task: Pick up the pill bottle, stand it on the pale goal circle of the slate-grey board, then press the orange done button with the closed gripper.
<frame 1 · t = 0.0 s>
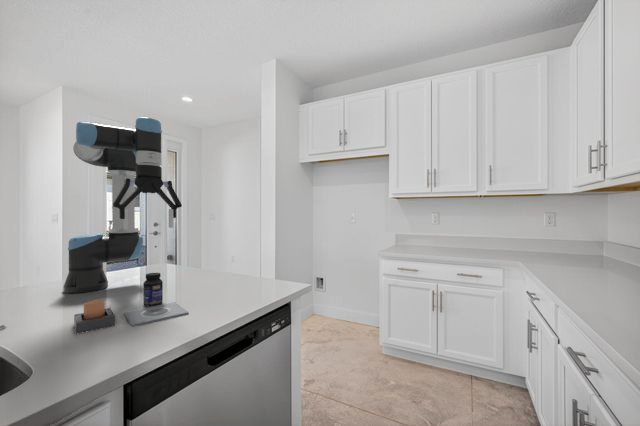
hand: (149, 228, 101), 28 cm above the counter, fingers open, 13 cm apart
button housing: (94, 325, 89), on the counter
board: (155, 314, 98), on the counter
button: (94, 310, 89), point 4 cm above the counter, slide at 0.0 cm
pill bottle: (153, 304, 108), on the counter
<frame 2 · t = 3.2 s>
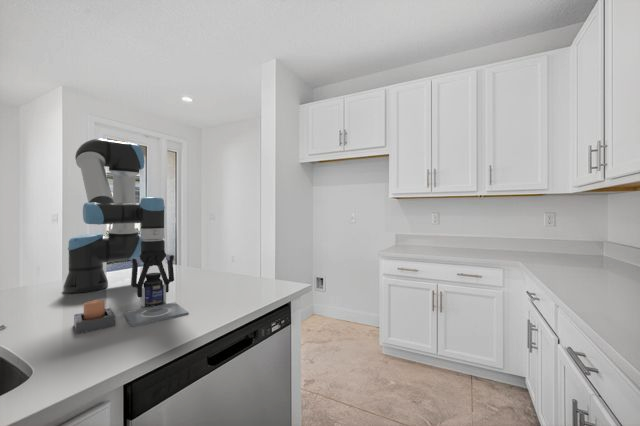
hand: (153, 303, 108), 0 cm above the counter, fingers closed on pill bottle, 6 cm apart
pill bottle: (153, 304, 108), on the counter, touching gripper
everything else where it was.
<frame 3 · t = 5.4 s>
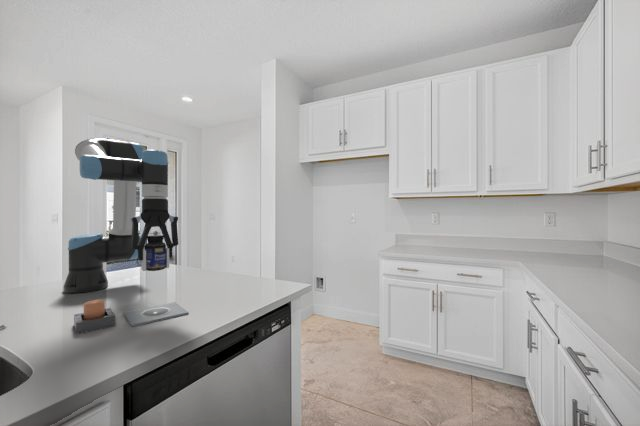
hand: (155, 268, 98), 15 cm above the counter, fingers closed on pill bottle, 6 cm apart
pill bottle: (155, 269, 98), point 15 cm above the counter, touching gripper
everything else where it was.
when the fingers open (2 cm above the counter, at t = 7.9 s): pill bottle drops 1 cm, resting on board.
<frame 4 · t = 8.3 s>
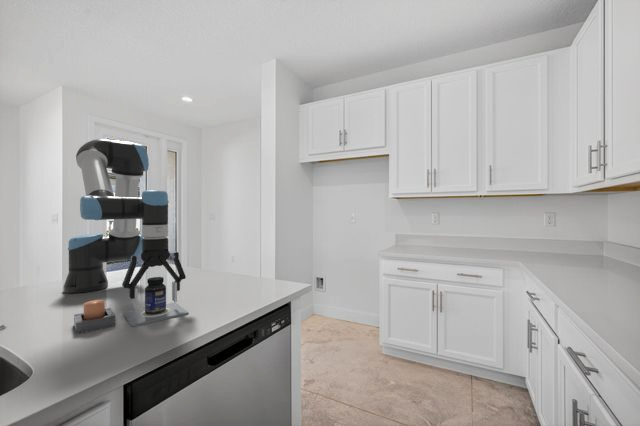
hand: (155, 304, 98), 3 cm above the counter, fingers open, 11 cm apart
pill bottle: (155, 312, 98), point 1 cm above the counter, touching board
everything else where it was.
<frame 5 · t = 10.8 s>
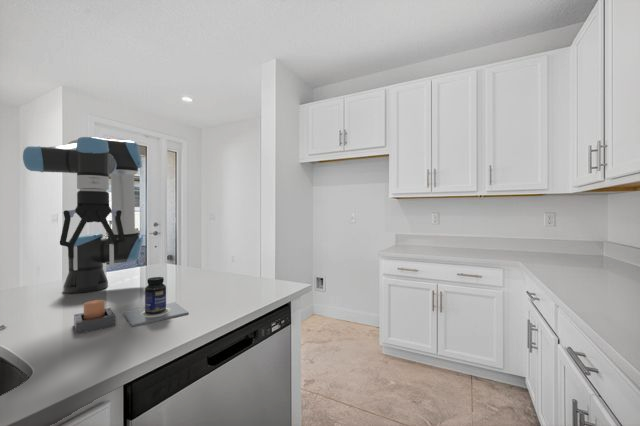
hand: (94, 267, 89), 17 cm above the counter, fingers open, 8 cm apart
nothing on the counter moved.
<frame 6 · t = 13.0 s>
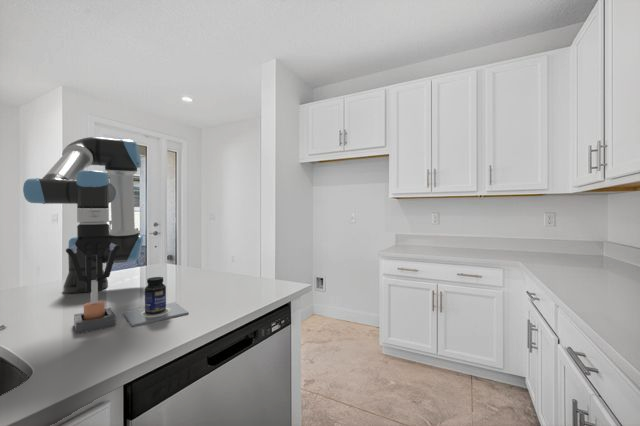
hand: (94, 302, 89), 7 cm above the counter, fingers closed
button: (94, 311, 89), point 4 cm above the counter, slide at 0.3 cm, touching gripper
everything else where it was.
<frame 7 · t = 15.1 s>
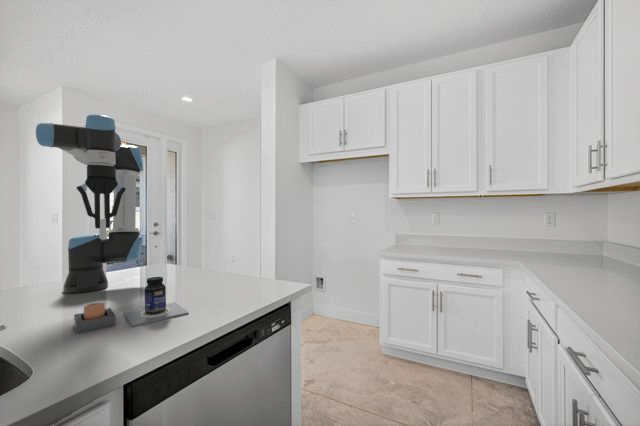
hand: (102, 238, 97), 25 cm above the counter, fingers closed
button: (94, 313, 89), point 3 cm above the counter, slide at 1.0 cm
everything else where it was.
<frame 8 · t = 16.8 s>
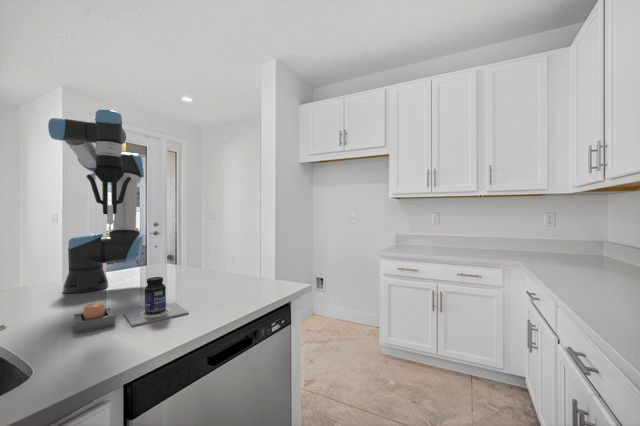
hand: (109, 223, 104), 29 cm above the counter, fingers closed
nothing on the counter moved.
at the end: pill bottle inside the target area on the board (0.3 cm from its centre), point 0.6 cm above the board's base; pill bottle tilted 1°; button slide at 1.0 cm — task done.
